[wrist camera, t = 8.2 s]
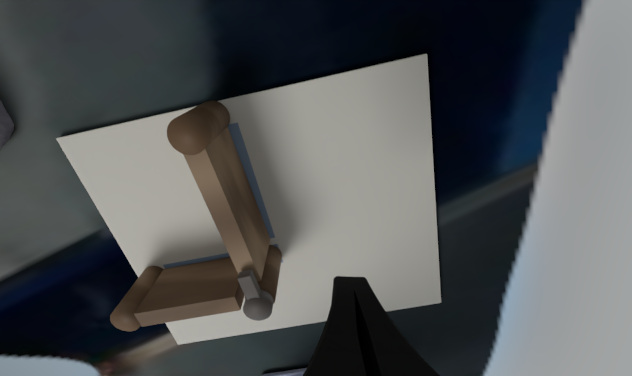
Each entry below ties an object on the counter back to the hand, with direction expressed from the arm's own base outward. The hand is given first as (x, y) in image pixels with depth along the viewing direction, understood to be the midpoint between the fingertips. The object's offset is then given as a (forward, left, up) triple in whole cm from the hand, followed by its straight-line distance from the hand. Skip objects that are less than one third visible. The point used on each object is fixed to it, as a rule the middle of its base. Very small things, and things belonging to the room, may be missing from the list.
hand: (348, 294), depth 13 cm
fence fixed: (-4, +11, -10) cm, 15 cm away
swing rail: (+2, +6, -9) cm, 11 cm away
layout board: (-2, +5, -10) cm, 11 cm away
